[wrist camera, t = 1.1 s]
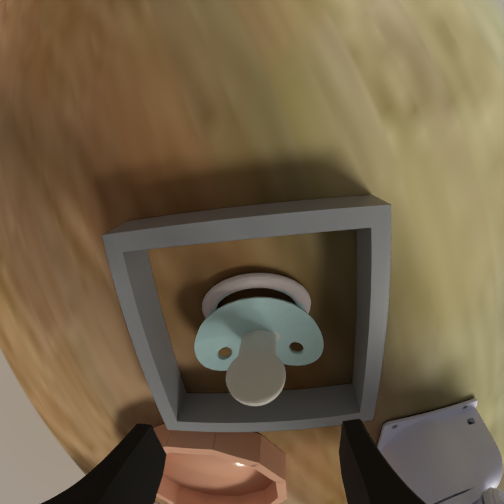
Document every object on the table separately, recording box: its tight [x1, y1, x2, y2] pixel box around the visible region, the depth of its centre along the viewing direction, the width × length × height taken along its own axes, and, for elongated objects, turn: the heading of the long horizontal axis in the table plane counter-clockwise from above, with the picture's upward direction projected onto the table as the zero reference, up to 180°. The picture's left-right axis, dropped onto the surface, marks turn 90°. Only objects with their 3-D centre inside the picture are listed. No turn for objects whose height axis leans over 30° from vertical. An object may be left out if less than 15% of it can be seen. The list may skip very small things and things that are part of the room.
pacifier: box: [194, 273, 324, 406], centre depth 16 cm, size 7×6×6 cm
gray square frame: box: [102, 195, 391, 432], centre depth 18 cm, size 14×14×3 cm
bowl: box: [153, 424, 287, 504], centre depth 23 cm, size 14×14×3 cm
